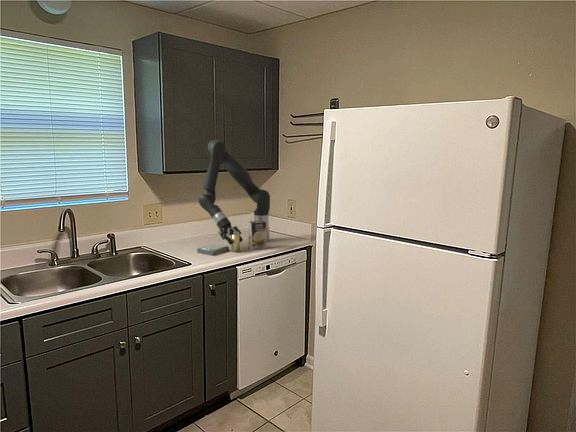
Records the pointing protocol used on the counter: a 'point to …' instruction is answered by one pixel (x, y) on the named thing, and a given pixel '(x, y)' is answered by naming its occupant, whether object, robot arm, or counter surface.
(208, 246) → the kitchen scale
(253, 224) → the coffee box
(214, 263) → the counter surface
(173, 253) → the counter surface
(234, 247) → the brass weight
